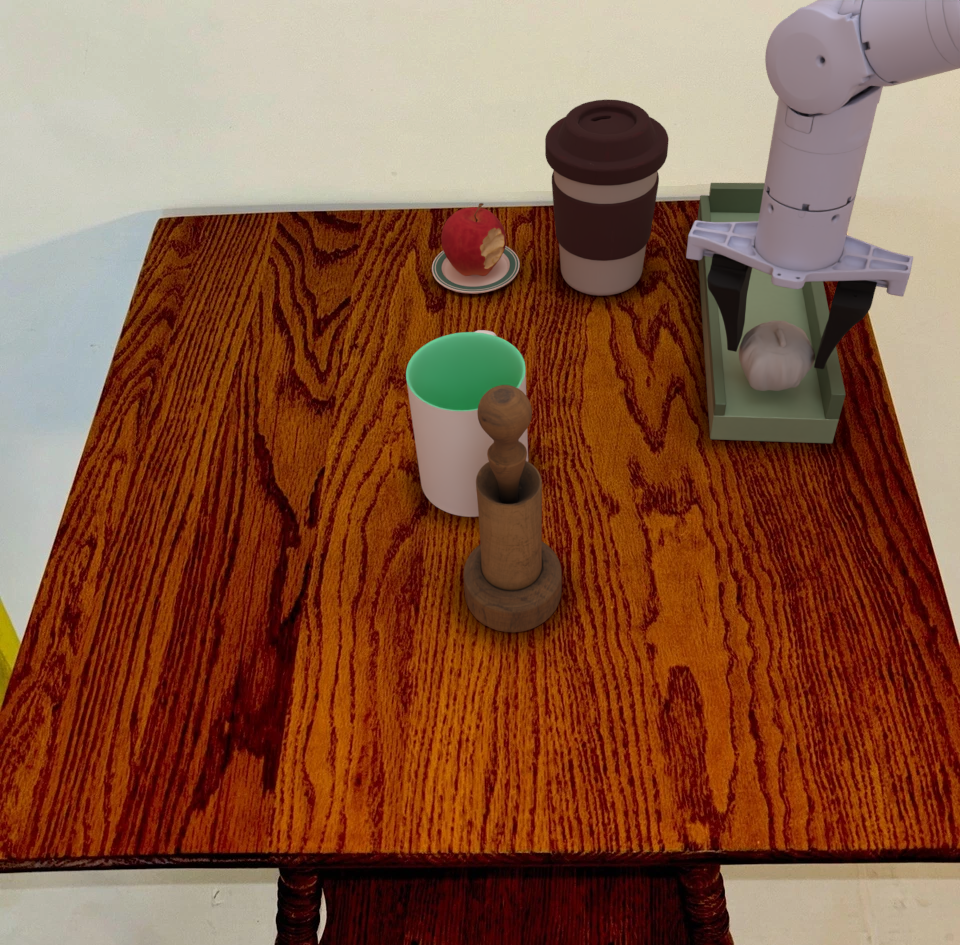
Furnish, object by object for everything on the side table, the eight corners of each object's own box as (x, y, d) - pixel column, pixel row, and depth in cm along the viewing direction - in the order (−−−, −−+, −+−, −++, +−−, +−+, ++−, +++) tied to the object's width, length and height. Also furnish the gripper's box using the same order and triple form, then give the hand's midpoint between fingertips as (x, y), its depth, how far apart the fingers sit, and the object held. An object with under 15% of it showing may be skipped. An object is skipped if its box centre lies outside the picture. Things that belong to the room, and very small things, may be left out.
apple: (524, 247, 97) (522, 185, 92) (514, 299, 92) (511, 236, 87) (440, 243, 98) (434, 182, 93) (425, 295, 93) (418, 233, 88)
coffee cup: (644, 315, 89) (656, 157, 78) (533, 298, 91) (530, 142, 81) (666, 250, 95) (680, 95, 84) (562, 235, 98) (562, 83, 87)
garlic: (794, 414, 75) (806, 359, 71) (723, 393, 77) (731, 338, 73) (818, 365, 79) (831, 310, 75) (749, 346, 81) (759, 292, 77)
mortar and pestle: (555, 638, 67) (556, 441, 54) (457, 628, 68) (433, 432, 55) (566, 558, 71) (568, 358, 58) (473, 549, 72) (455, 351, 59)
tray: (832, 444, 77) (846, 394, 74) (710, 439, 78) (717, 390, 75) (794, 230, 96) (803, 183, 93) (696, 229, 97) (701, 182, 94)
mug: (436, 401, 83) (424, 296, 75) (536, 404, 82) (534, 298, 74) (412, 513, 75) (396, 408, 67) (523, 519, 74) (520, 413, 66)
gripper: (682, 202, 66) (666, 364, 76) (923, 241, 61) (872, 408, 71) (708, 147, 70) (690, 307, 80) (934, 180, 66) (885, 345, 76)
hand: (777, 351), depth 76 cm, fingers open, 6 cm apart
